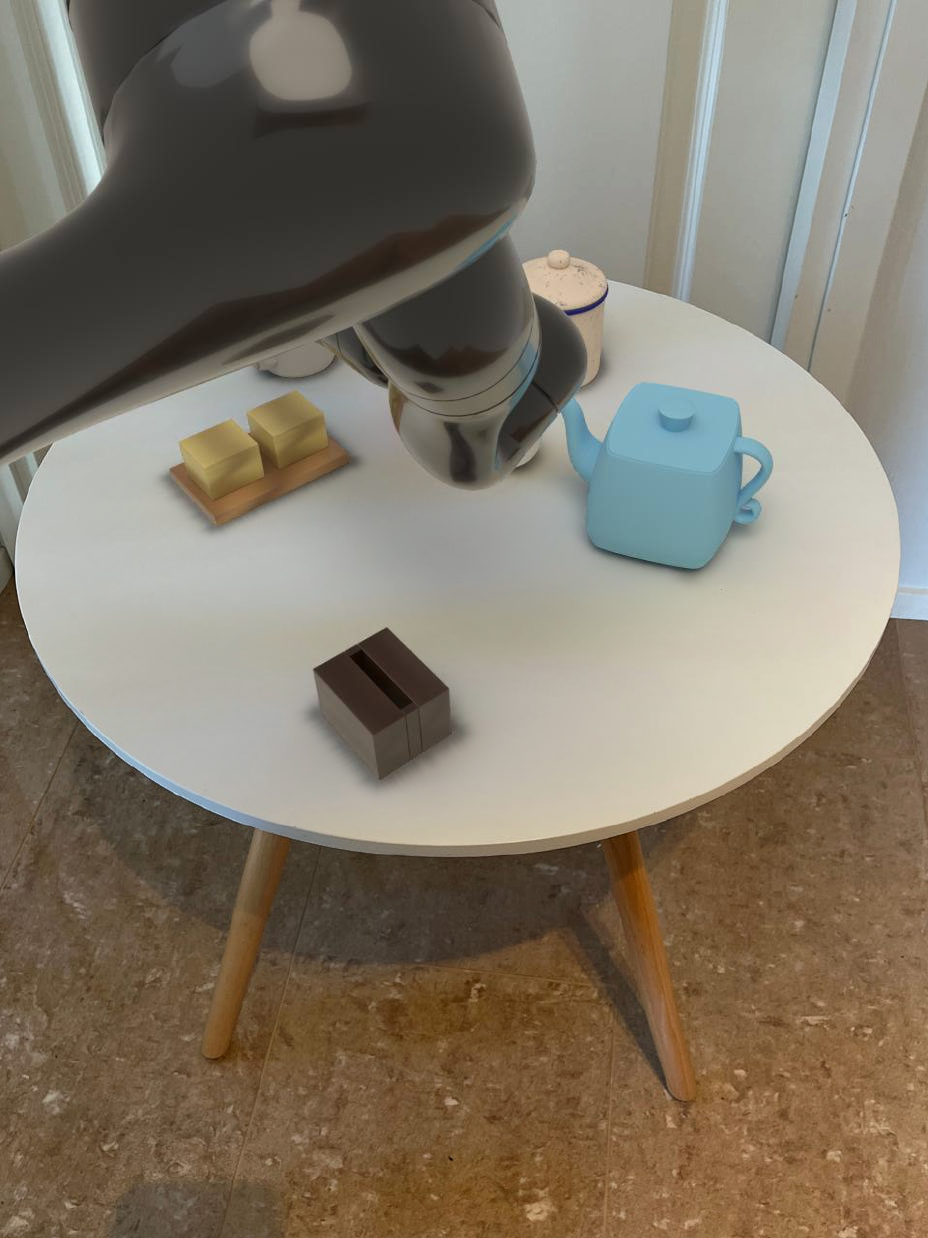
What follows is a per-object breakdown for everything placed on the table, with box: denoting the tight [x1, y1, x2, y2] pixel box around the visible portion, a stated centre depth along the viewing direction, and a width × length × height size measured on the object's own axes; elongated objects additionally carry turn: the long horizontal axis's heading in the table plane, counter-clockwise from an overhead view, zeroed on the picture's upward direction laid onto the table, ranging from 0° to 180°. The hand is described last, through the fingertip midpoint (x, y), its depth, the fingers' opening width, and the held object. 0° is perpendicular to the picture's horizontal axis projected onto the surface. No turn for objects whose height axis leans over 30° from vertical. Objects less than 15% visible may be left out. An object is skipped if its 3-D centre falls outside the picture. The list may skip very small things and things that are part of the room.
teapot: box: [560, 381, 774, 570], centre depth 82 cm, size 12×18×12 cm
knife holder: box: [312, 626, 452, 781], centre depth 70 cm, size 6×7×5 cm
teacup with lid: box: [521, 249, 610, 388], centre depth 96 cm, size 12×9×12 cm
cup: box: [251, 342, 336, 379], centre depth 99 cm, size 7×10×9 cm
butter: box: [169, 389, 350, 527], centre depth 90 cm, size 13×8×5 cm, turn 128°
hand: (187, 175), depth 73 cm, fingers closed on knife, 2 cm apart
